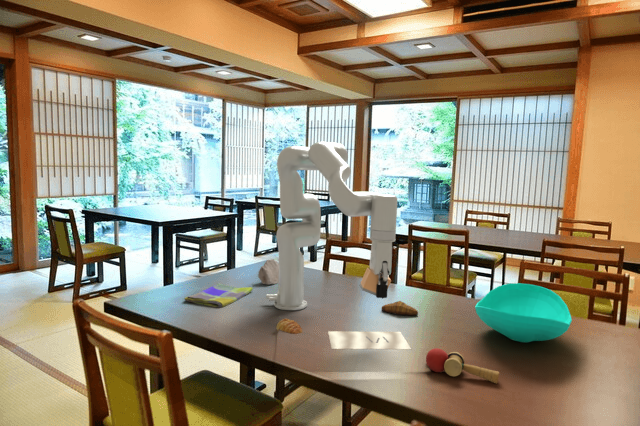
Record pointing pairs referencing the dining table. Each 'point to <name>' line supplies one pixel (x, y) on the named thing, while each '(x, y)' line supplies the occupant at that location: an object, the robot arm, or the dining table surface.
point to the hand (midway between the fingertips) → (379, 294)
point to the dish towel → (219, 295)
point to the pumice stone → (269, 272)
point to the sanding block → (370, 282)
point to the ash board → (367, 340)
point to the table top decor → (524, 312)
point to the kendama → (456, 365)
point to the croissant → (400, 309)
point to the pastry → (289, 326)
